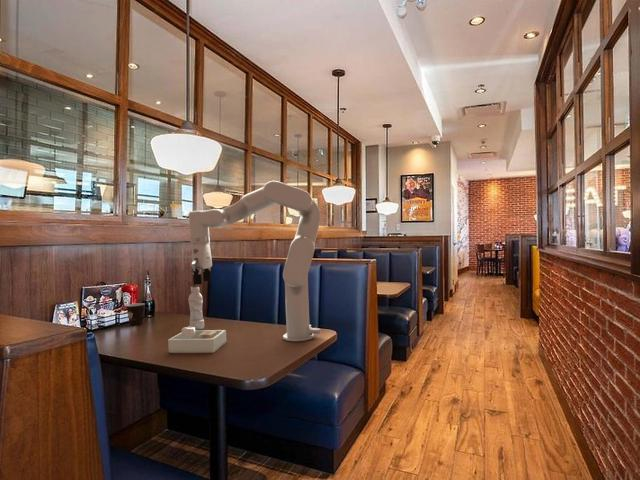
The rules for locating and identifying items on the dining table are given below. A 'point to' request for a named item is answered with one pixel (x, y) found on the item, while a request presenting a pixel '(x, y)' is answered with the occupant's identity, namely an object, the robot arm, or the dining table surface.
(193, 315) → the plastic bottle
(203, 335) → the maple cube
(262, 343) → the dining table surface
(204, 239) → the robot arm
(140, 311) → the coffee mug
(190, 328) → the steel cylinder
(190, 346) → the tote
